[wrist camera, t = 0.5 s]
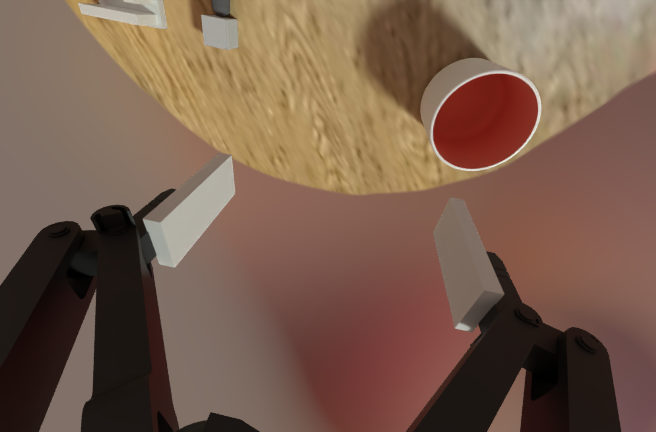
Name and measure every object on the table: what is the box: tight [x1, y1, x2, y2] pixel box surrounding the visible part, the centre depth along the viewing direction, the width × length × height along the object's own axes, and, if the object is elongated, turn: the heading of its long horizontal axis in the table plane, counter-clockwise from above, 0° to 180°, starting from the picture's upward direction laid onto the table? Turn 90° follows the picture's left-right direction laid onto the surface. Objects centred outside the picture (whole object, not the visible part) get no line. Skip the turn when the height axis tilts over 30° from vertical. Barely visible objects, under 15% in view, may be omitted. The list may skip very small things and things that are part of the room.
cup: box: [420, 58, 541, 171], centre depth 31 cm, size 10×10×10 cm
